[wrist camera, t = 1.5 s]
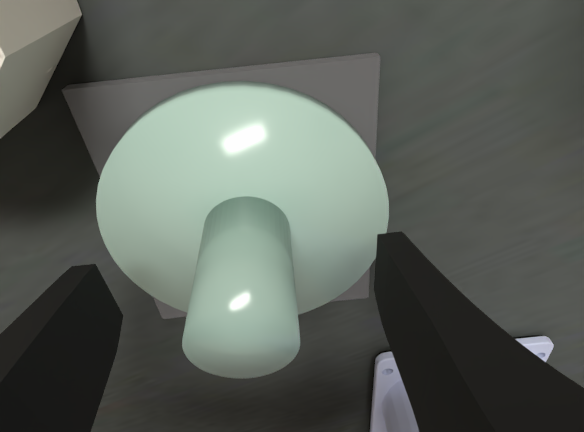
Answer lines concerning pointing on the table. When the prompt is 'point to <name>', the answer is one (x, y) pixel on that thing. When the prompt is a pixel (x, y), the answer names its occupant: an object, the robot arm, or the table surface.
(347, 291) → the mat
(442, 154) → the table surface
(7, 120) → the bowl
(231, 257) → the lid
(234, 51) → the table surface
